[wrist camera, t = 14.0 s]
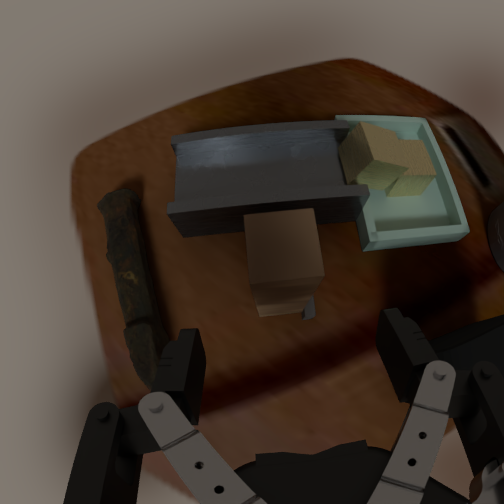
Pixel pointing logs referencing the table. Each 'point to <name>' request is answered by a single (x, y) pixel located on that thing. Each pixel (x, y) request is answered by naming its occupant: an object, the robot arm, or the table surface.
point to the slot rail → (261, 175)
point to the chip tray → (411, 197)
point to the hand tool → (133, 282)
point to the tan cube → (413, 171)
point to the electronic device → (472, 345)
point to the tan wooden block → (284, 261)
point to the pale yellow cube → (372, 156)
